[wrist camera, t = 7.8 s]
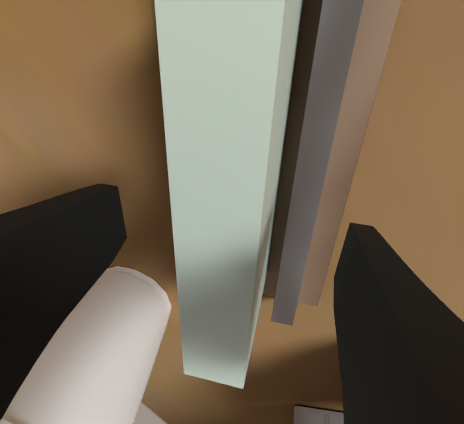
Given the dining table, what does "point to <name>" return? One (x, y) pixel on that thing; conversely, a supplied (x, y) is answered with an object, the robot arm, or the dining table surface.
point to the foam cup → (97, 356)
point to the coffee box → (316, 416)
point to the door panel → (224, 165)
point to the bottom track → (323, 140)
